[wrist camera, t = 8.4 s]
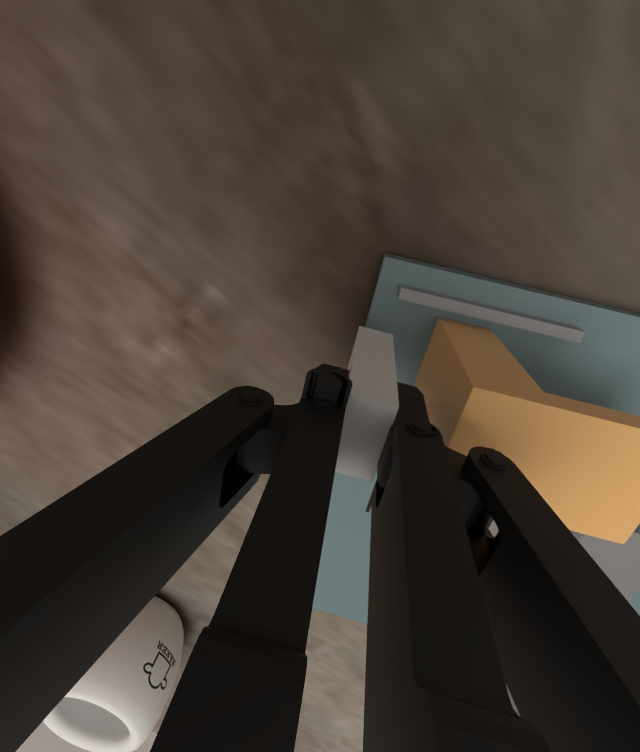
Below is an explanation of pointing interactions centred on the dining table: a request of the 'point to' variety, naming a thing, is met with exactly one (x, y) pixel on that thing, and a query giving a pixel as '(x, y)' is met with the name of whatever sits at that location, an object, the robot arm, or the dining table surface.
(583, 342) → the teal base with bracket
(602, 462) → the orange block
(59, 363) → the dining table surface
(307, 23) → the dining table surface
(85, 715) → the mug
